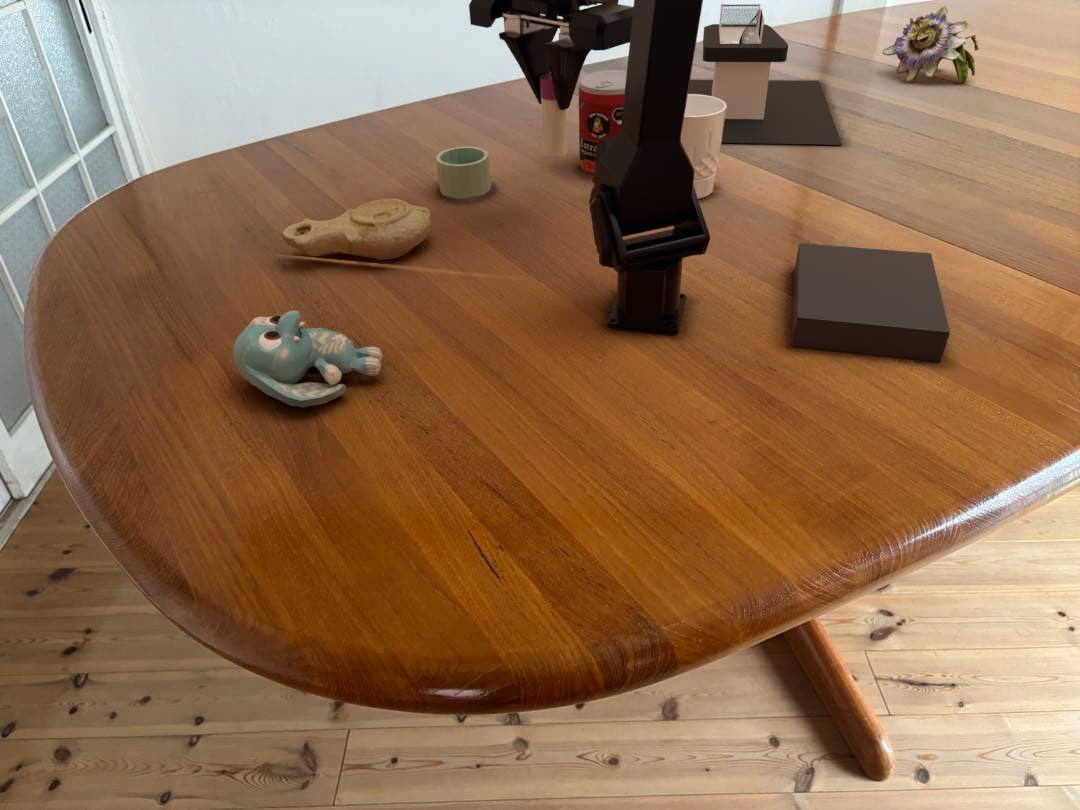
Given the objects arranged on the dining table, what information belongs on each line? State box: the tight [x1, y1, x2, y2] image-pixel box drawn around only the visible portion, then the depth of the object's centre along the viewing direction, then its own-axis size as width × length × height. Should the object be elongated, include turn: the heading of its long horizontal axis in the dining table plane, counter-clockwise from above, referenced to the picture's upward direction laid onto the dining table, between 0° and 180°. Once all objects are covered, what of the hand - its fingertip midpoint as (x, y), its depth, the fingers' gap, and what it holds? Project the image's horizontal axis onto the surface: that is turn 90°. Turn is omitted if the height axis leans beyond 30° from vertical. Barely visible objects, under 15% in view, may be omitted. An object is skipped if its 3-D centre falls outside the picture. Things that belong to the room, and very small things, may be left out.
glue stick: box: [540, 73, 569, 159], centre depth 86 cm, size 3×3×8 cm
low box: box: [791, 242, 951, 363], centre depth 74 cm, size 14×12×3 cm
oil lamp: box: [281, 198, 433, 260], centre depth 86 cm, size 11×14×5 cm
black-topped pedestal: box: [688, 3, 843, 146], centre depth 116 cm, size 28×26×13 cm
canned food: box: [578, 69, 627, 176], centre depth 101 cm, size 8×8×11 cm
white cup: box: [681, 94, 726, 200], centre depth 95 cm, size 8×8×10 cm
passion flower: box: [882, 5, 980, 85], centre depth 127 cm, size 11×11×12 cm
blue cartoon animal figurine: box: [232, 309, 384, 408], centre depth 68 cm, size 11×7×12 cm
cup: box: [435, 145, 492, 200], centre depth 99 cm, size 6×6×4 cm
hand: (554, 106), depth 85 cm, fingers closed on glue stick, 3 cm apart
